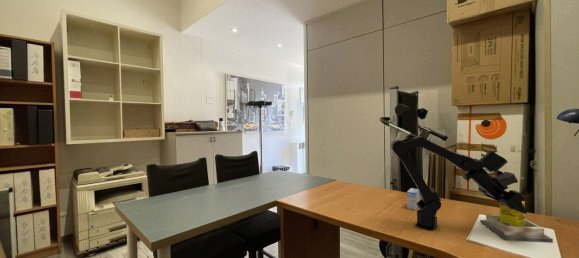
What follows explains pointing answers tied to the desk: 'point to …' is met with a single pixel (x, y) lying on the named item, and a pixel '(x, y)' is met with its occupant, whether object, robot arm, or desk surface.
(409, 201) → the medicine box
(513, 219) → the supplement box
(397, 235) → the desk surface
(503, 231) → the board
